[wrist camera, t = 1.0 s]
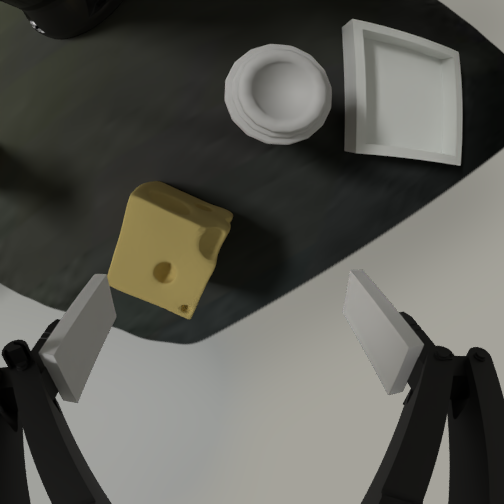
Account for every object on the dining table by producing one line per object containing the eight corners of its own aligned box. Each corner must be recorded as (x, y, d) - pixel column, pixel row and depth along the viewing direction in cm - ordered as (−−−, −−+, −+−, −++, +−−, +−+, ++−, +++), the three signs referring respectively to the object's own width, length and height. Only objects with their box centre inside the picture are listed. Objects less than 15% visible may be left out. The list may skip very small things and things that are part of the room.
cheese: (233, 210, 36) (235, 237, 27) (198, 282, 39) (190, 327, 30) (155, 175, 34) (129, 190, 24) (126, 251, 37) (98, 287, 28)
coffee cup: (318, 99, 32) (360, 85, 20) (273, 157, 34) (296, 169, 23) (256, 54, 29) (269, 17, 18) (209, 113, 31) (199, 102, 20)
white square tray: (341, 27, 28) (352, 18, 25) (443, 55, 29) (458, 51, 26) (344, 151, 34) (356, 153, 31) (445, 162, 35) (460, 165, 32)
